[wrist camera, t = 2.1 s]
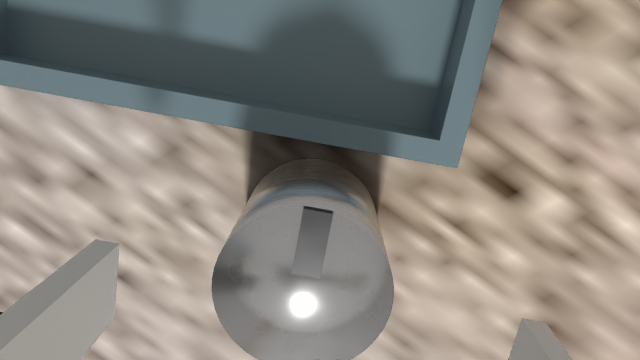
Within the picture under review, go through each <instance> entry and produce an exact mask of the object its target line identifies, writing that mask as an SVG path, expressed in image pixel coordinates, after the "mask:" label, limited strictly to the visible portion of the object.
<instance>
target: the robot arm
mask: <svg viewBox="0 0 640 360" xmlns="http://www.w3.org/2000/svg"><path fill="white" fill-rule="evenodd" d="M118 257H119V244H117V243H112V242H107V241H101V240H95V241H93V242H92V243H91V244H89V245H88V246H87V247H86V248H84V249H83V250H82V251H81V252H79V253H78V254H77V255H76V256H74V257H73V258H72V259H71V260H69V261H68V262H67V263H65V264H64V265H63V266H62V267H60V268H59V269H58V270H57V271H55V272H54V273H53V274H52V275H50V276H49V277H48V278H46V279H45V280H44V281H43V282H41V283H40V284H39V285H38V286H36V287H35V288H34V289H33V290H31V291H30V292H29V293H28V294H26V295H25V296H24V297H22V298H21V299H20V300H19V301H17V302H16V303H15V304H14V305H12V306H11V307H10V308H9V309H7V310H6V311H5V312H4V313H3V312H0V360H80V359H81V358H82V357H83V356H84V354H85V353H86V352H87V351H88V350H89V348H90V347H91V346H92V345H93V343H94V342H95V341H96V340H97V339H98V337H99V336H100V335H101V334H102V333H103V331H104V330H105V329H106V328H107V327H108V325H109V324H110V323H111V322H112V321H113V319H114V315H115V301H116V286H117V271H118ZM508 360H572V358H571V357H570V356H569V354H568V353H567V351H566V350H565V349H564V347H563V346H562V345H561V343H560V342H559V340H558V339H557V338H556V336H555V335H554V334H553V332H552V331H551V329H550V328H549V327H548V325H547V324H546V323H544V322H539V321H533V320H528V319H523V318H522V321H521V324H520V326H519V329H518V332H517V335H516V338H515V341H514V344H513V347H512V350H511V353H510V356H509V359H508Z"/></svg>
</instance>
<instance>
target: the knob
mask: <svg viewBox="0 0 640 360" xmlns="http://www.w3.org/2000/svg"><path fill="white" fill-rule="evenodd" d="M212 297H213V302H214V306H215V310H216V313H217V315H218V318H219V320H220V322H221V324H222V325H223V327H224V329H225V330H226V332H227V333H228V334H229V336H230V337H231V338H232V339H233V340H234V341H235V342H236V343H237V344H238V345H239V346H240V347H241V348H242V349H243V350H245V351H246V352H247V353H249V354H250V355H252V356H253V357H255V358H257V359H259V360H351V359H353V358H354V357H356V356H357V355H359V354H360V353H362V352H363V351H364V350H365V349H367V348H368V347H369V346H370V345H371V344H372V343H373V342H374V341H375V340H376V338H377V337H378V336H379V334H380V333H381V332H382V330H383V329H384V327H385V325H386V323H387V321H388V318H389V315H390V312H391V309H392V304H393V297H394V285H393V277H392V273H391V269H390V265H389V261H388V257H387V253H386V249H385V246H384V242H383V238H382V234H381V230H380V226H379V222H378V218H377V214H376V210H375V207H374V203H373V200H372V198H371V195H370V193H369V192H368V190H367V188H366V187H365V185H364V184H363V183H362V182H361V180H360V179H359V178H358V177H357V176H355V175H354V174H353V173H352V172H350V171H349V170H348V169H346V168H344V167H342V166H340V165H338V164H336V163H333V162H330V161H326V160H322V159H300V160H294V161H291V162H287V163H285V164H283V165H280V166H278V167H277V168H275V169H273V170H272V171H271V172H269V173H268V174H267V175H266V176H265V177H264V178H263V179H262V180H261V181H260V182H259V183H258V185H257V186H256V187H255V189H254V191H253V193H252V195H251V197H250V198H249V200H248V202H247V204H246V206H245V208H244V210H243V211H242V213H241V215H240V217H239V219H238V221H237V223H236V225H235V226H234V228H233V230H232V232H231V234H230V236H229V238H228V239H227V241H226V243H225V245H224V247H223V249H222V251H221V253H220V254H219V256H218V259H217V262H216V264H215V267H214V272H213V277H212Z"/></svg>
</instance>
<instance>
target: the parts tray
mask: <svg viewBox="0 0 640 360" xmlns="http://www.w3.org/2000/svg"><path fill="white" fill-rule="evenodd" d="M501 4H502V0H0V85H4V86H9V87H15V88H20V89H26V90H31V91H37V92H42V93H48V94H53V95H59V96H64V97H70V98H75V99H81V100H86V101H92V102H97V103H102V104H108V105H113V106H119V107H124V108H130V109H135V110H141V111H146V112H152V113H157V114H163V115H168V116H174V117H179V118H185V119H190V120H196V121H201V122H207V123H212V124H217V125H223V126H228V127H234V128H239V129H245V130H250V131H256V132H261V133H267V134H272V135H278V136H283V137H289V138H294V139H300V140H305V141H311V142H316V143H322V144H327V145H332V146H338V147H343V148H349V149H354V150H360V151H365V152H371V153H376V154H382V155H387V156H393V157H398V158H404V159H409V160H415V161H420V162H426V163H431V164H437V165H442V166H447V167H453V168H457V167H458V164H459V160H460V156H461V153H462V149H463V145H464V141H465V138H466V134H467V130H468V127H469V123H470V119H471V115H472V112H473V108H474V104H475V101H476V97H477V93H478V89H479V86H480V82H481V78H482V75H483V71H484V67H485V63H486V60H487V56H488V52H489V49H490V45H491V41H492V37H493V34H494V30H495V26H496V23H497V19H498V15H499V11H500V8H501Z"/></svg>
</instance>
